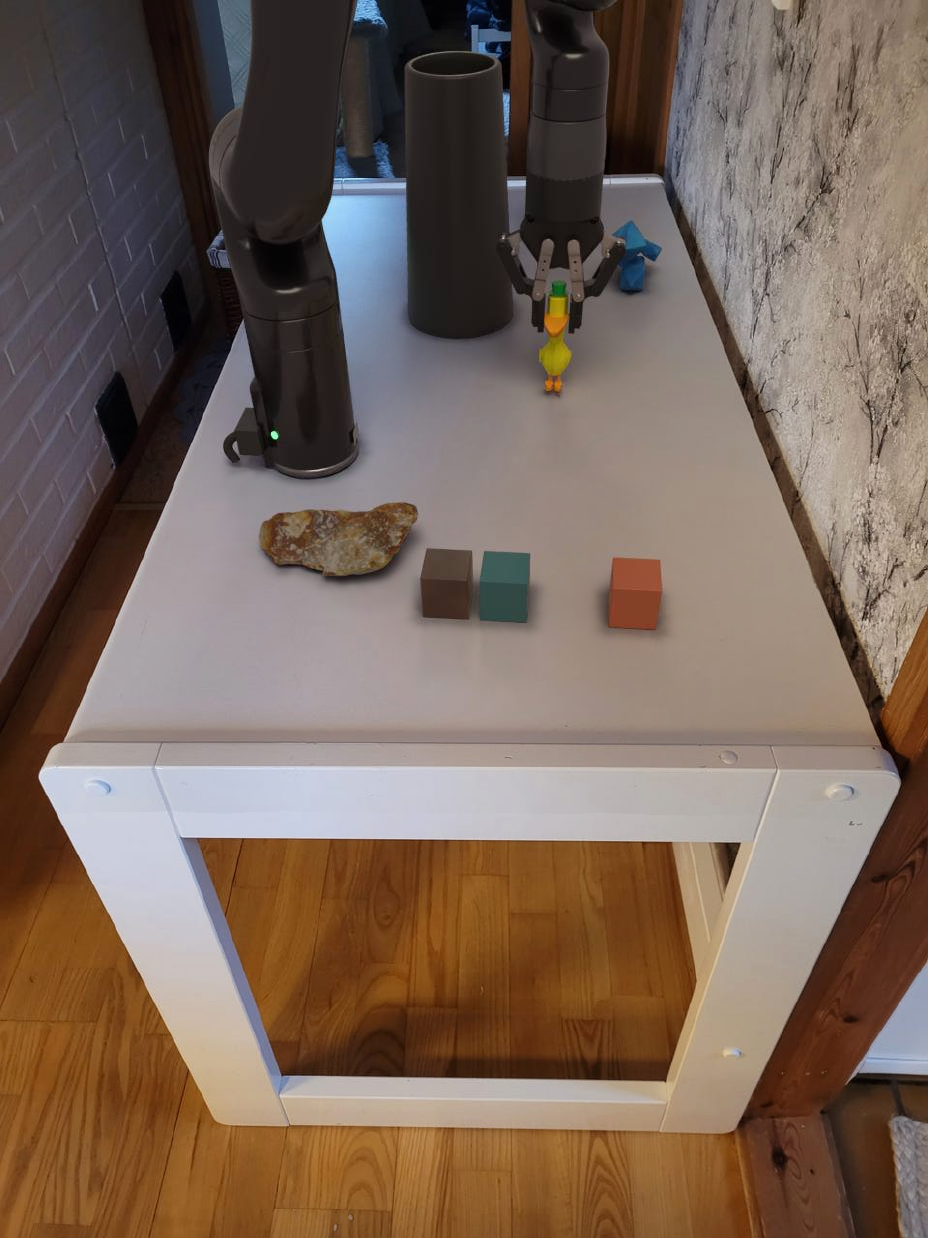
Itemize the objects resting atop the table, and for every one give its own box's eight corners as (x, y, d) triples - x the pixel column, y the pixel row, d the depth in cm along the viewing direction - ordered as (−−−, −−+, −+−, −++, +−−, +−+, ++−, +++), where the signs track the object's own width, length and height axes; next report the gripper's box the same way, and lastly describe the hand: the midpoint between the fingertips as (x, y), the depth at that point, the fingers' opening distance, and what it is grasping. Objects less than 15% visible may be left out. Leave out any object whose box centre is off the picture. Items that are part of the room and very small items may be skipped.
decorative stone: (406, 546, 82) (241, 556, 84) (415, 583, 85) (255, 592, 87) (419, 479, 88) (265, 490, 91) (427, 516, 92) (278, 526, 94)
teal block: (480, 620, 82) (479, 581, 79) (484, 589, 85) (483, 550, 82) (526, 622, 82) (527, 583, 79) (529, 591, 85) (530, 552, 82)
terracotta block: (608, 627, 81) (613, 588, 78) (608, 595, 84) (612, 556, 81) (656, 630, 81) (662, 590, 78) (654, 598, 84) (660, 559, 80)
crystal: (665, 214, 128) (665, 228, 118) (657, 281, 133) (656, 300, 122) (610, 211, 129) (605, 225, 119) (604, 278, 134) (598, 296, 124)
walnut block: (423, 617, 83) (419, 578, 80) (429, 586, 86) (426, 547, 82) (468, 619, 82) (467, 580, 79) (473, 588, 85) (472, 549, 82)
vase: (530, 325, 121) (536, 70, 101) (429, 347, 117) (414, 87, 97) (488, 282, 130) (486, 40, 110) (394, 301, 127) (374, 55, 106)
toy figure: (565, 403, 106) (572, 300, 97) (533, 401, 106) (537, 298, 98) (571, 373, 110) (577, 272, 102) (540, 371, 111) (544, 271, 103)
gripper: (489, 174, 89) (489, 344, 101) (639, 177, 88) (621, 348, 100) (495, 147, 95) (495, 312, 107) (637, 150, 94) (620, 316, 106)
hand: (556, 329), depth 103 cm, fingers closed on toy figure, 2 cm apart
